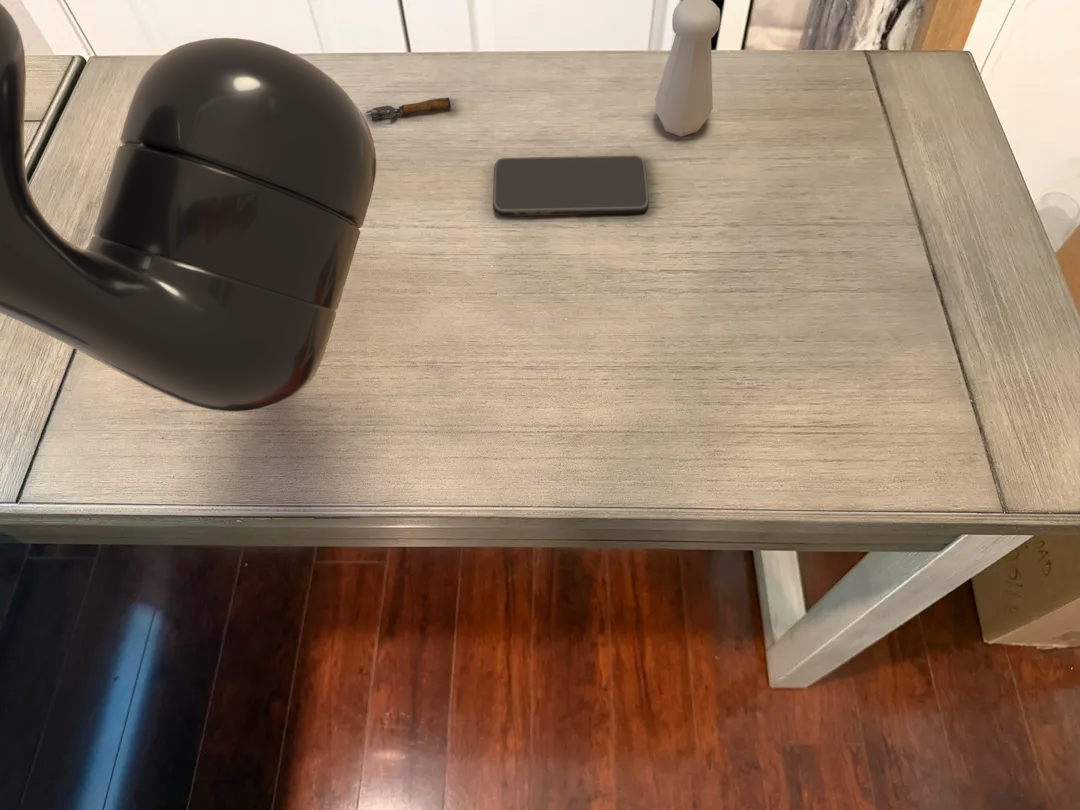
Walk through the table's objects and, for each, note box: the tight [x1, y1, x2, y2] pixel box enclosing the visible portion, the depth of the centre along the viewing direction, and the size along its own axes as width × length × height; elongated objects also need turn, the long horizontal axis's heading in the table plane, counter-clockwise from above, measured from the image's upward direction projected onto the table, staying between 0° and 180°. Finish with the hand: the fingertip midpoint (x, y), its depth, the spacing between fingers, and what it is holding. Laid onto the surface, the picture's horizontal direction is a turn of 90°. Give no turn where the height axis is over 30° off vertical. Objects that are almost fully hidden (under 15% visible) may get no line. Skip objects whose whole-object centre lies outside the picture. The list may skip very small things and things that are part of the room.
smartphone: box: [492, 155, 650, 217], centre depth 79 cm, size 7×1×15 cm
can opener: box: [365, 97, 452, 121], centre depth 85 cm, size 9×2×1 cm, turn 94°
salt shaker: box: [654, 0, 721, 137], centre depth 78 cm, size 6×6×13 cm
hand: (223, 255), depth 55 cm, fingers closed on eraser, 3 cm apart
